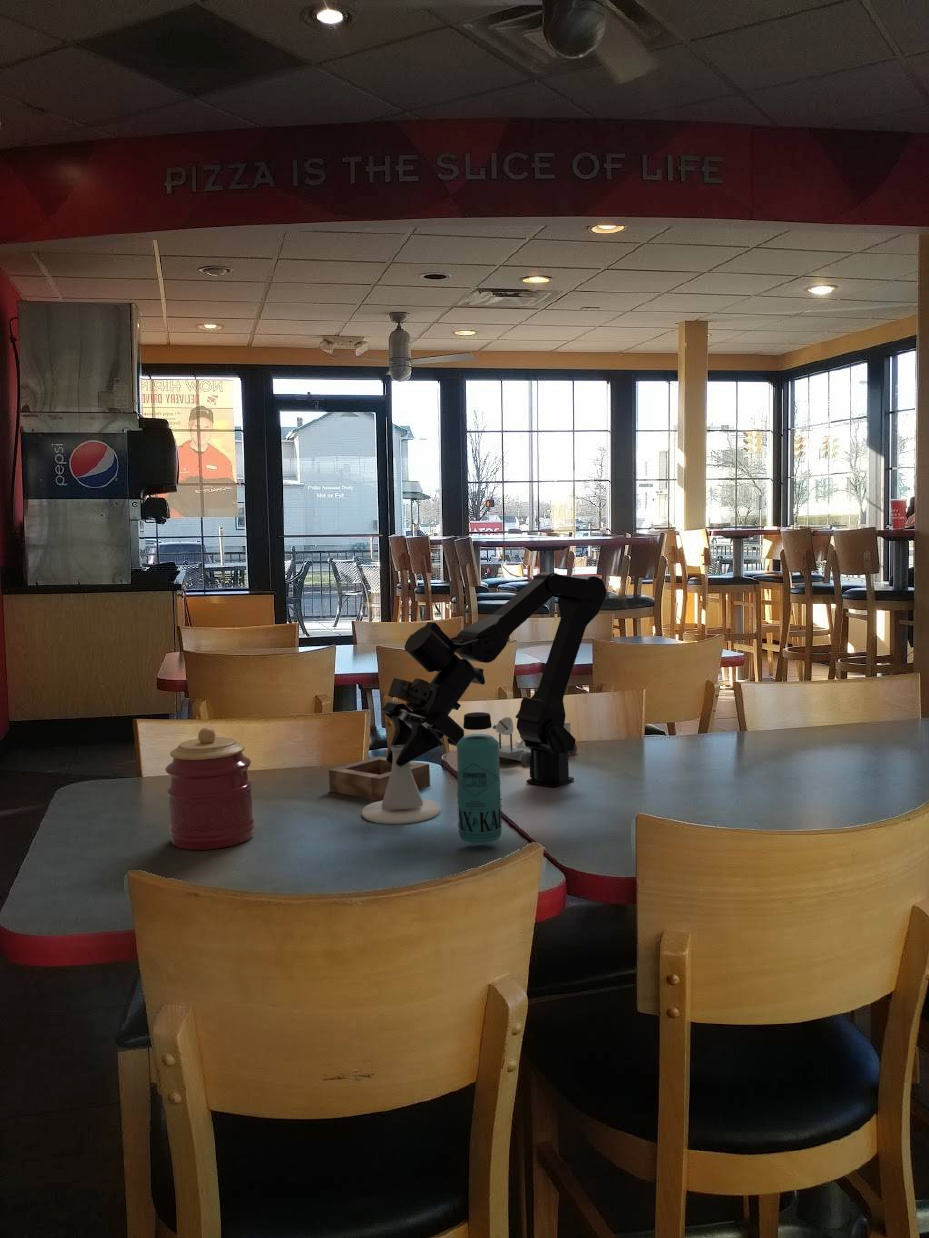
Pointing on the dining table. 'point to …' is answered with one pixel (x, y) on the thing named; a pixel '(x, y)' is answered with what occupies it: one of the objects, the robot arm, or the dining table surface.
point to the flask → (401, 785)
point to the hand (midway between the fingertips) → (393, 763)
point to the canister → (209, 793)
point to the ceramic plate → (400, 813)
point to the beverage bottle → (478, 782)
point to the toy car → (518, 742)
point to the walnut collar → (372, 777)
